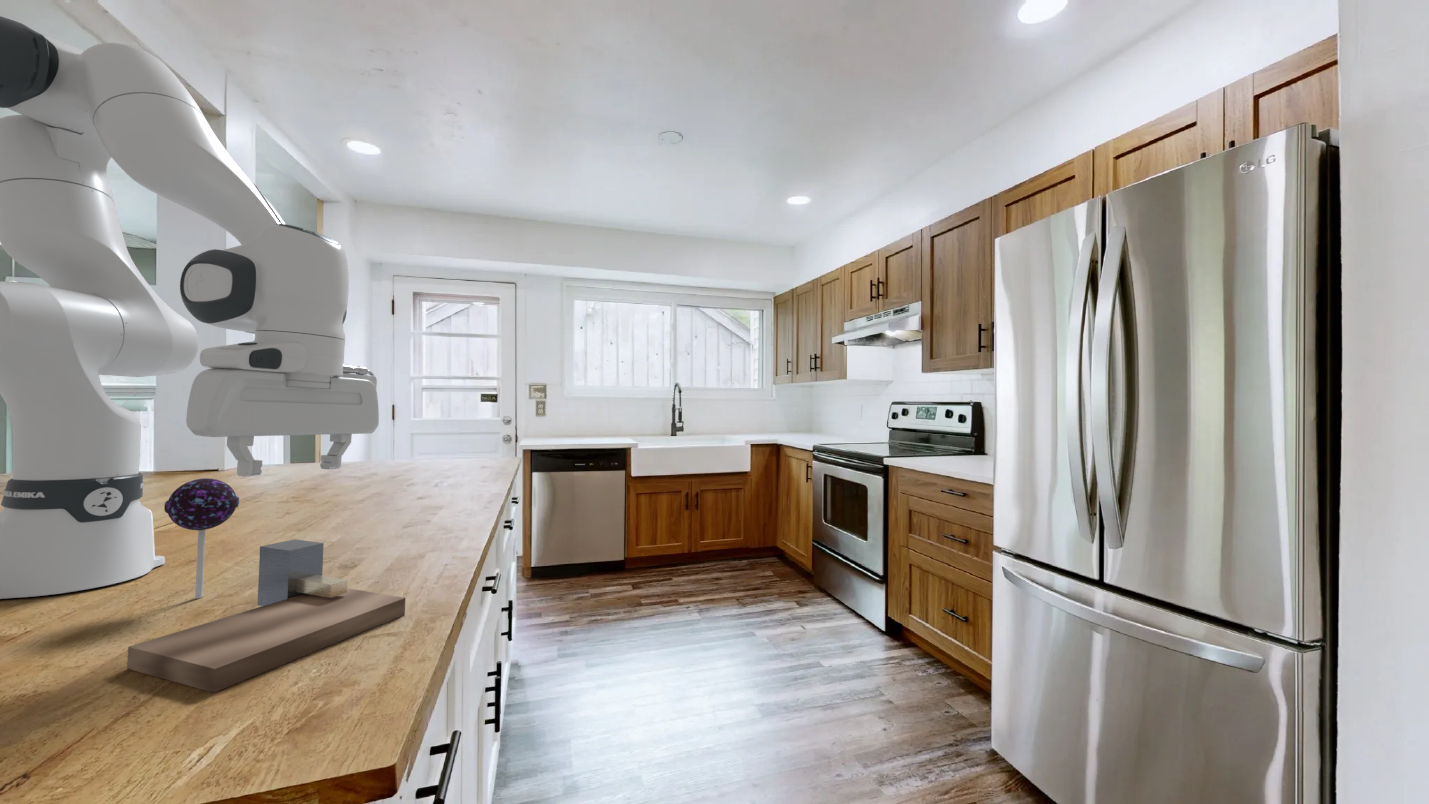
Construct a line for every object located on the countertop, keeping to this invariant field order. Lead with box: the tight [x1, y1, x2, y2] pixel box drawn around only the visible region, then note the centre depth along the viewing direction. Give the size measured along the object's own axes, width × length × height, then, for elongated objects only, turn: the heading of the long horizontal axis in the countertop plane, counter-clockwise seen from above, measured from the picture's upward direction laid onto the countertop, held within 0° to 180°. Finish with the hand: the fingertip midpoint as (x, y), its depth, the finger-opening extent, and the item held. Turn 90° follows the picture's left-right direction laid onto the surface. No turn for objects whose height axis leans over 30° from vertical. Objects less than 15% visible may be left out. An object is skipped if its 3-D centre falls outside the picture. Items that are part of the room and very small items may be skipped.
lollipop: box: [163, 478, 240, 600], centre depth 68 cm, size 7×7×15 cm
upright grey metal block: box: [257, 538, 348, 607], centre depth 65 cm, size 10×4×7 cm, turn 72°
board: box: [126, 587, 406, 693], centre depth 57 cm, size 12×19×2 cm, turn 162°
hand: (292, 472), depth 66 cm, fingers open, 8 cm apart
